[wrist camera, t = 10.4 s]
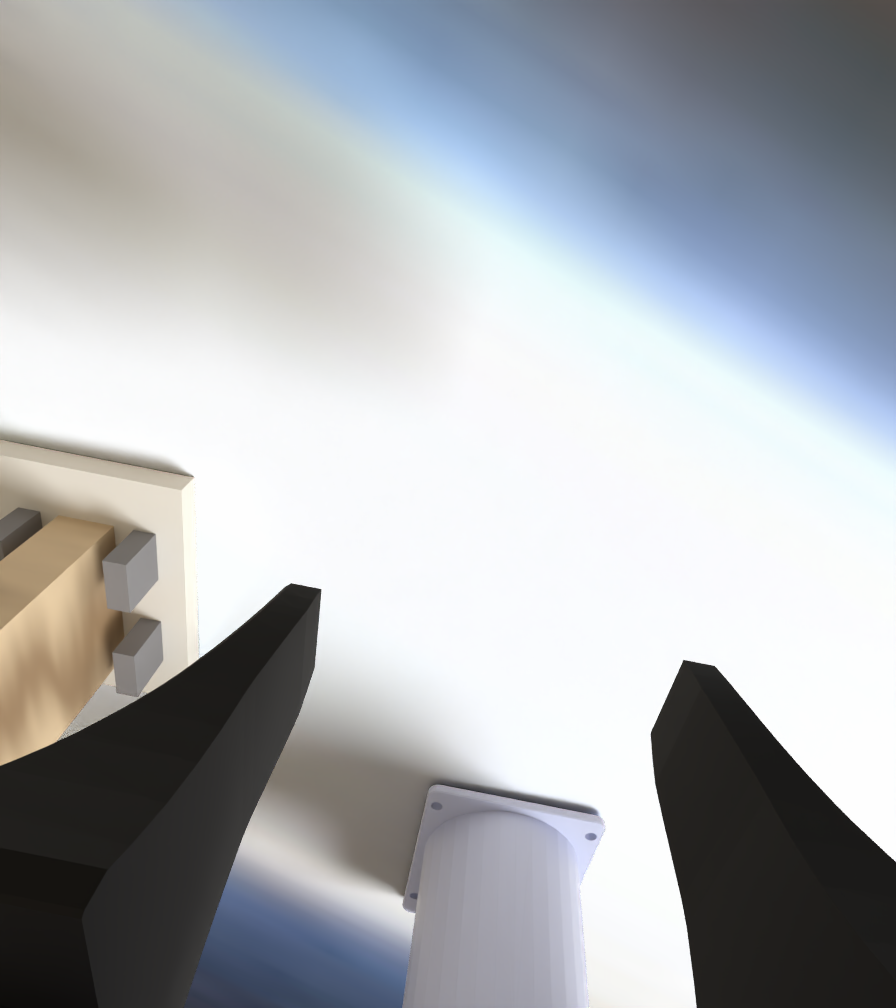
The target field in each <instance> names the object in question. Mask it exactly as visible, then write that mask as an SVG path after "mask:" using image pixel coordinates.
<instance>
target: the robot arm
mask: <svg viewBox="0 0 896 1008" xmlns="http://www.w3.org/2000/svg"><path fill="white" fill-rule="evenodd" d="M320 600H321V589H317V588H312V587H307V586H302V585H297V584H292V583H291V584H289V585H288V586H286V587H285V588H284V589H282V590H281V591H280V592H279V593H278V594H277V595H276V596H275V597H274V598H273V599H272V600H270V601H269V602H268V603H267V604H266V605H265V606H264V607H263V608H262V609H260V610H259V611H258V612H257V613H256V614H255V615H254V616H252V617H251V618H250V619H249V620H248V621H247V622H245V623H244V624H243V625H242V626H241V627H239V628H238V629H237V630H236V631H234V632H233V633H232V634H231V635H229V636H228V637H227V638H226V639H225V640H223V641H222V642H221V643H220V644H218V645H217V646H216V647H214V648H213V649H212V650H210V651H209V652H208V653H206V654H205V655H204V656H202V657H201V658H199V659H198V660H197V661H195V662H194V663H193V664H191V665H190V666H188V667H187V668H186V669H184V670H183V671H182V672H180V673H179V674H177V675H176V676H174V677H173V678H171V679H170V680H168V681H167V682H165V683H164V684H162V685H161V686H159V687H157V688H156V689H154V690H153V691H151V692H149V693H148V694H146V695H144V696H143V697H141V698H139V699H138V700H136V701H135V702H133V703H131V704H129V705H128V706H126V707H124V708H122V709H120V710H118V711H117V712H115V713H113V714H111V715H109V716H108V717H106V718H104V719H102V720H100V721H98V722H96V723H94V724H92V725H90V726H88V727H86V728H85V729H83V730H81V731H79V732H77V733H75V734H73V735H70V736H68V737H66V738H64V739H62V740H60V741H57V742H55V743H53V744H51V745H49V746H46V747H44V748H42V749H39V750H37V751H35V752H32V753H30V754H28V755H25V756H23V757H21V758H18V759H16V760H13V761H11V762H8V763H6V764H3V765H1V766H0V1008H184V1005H185V1002H186V999H187V996H188V993H189V990H190V987H191V984H192V981H193V978H194V975H195V972H196V969H197V966H198V963H199V960H200V957H201V954H202V951H203V948H204V945H205V942H206V939H207V936H208V933H209V931H210V928H211V925H212V922H213V919H214V916H215V913H216V910H217V907H218V905H219V902H220V899H221V896H222V893H223V890H224V887H225V885H226V882H227V879H228V876H229V873H230V871H231V868H232V865H233V862H234V860H235V857H236V854H237V851H238V848H239V846H240V843H241V840H242V837H243V835H244V833H245V830H246V828H247V826H248V823H249V821H250V818H251V816H252V814H253V812H254V809H255V807H256V805H257V803H258V801H259V799H260V797H261V795H262V792H263V790H264V788H265V786H266V784H267V782H268V780H269V778H270V775H271V773H272V771H273V769H274V767H275V765H276V763H277V760H278V758H279V756H280V754H281V752H282V750H283V748H284V746H285V743H286V741H287V739H288V737H289V735H290V733H291V730H292V728H293V726H294V724H295V722H296V720H297V717H298V715H299V713H300V710H301V707H302V704H303V701H304V698H305V695H306V692H307V689H308V686H309V683H310V680H311V677H312V674H313V671H314V667H315V656H316V645H317V634H318V622H319V611H320ZM651 743H652V756H653V767H654V776H655V784H656V789H657V794H658V798H659V803H660V807H661V812H662V816H663V821H664V825H665V830H666V834H667V838H668V843H669V847H670V851H671V856H672V860H673V864H674V869H675V873H676V877H677V882H678V886H679V890H680V895H681V899H682V904H683V909H684V914H685V920H686V925H687V932H688V939H689V947H690V955H691V962H692V970H693V978H694V986H695V995H696V1005H697V1008H896V862H895V861H894V860H893V859H892V858H891V857H890V856H889V855H887V854H886V853H885V852H884V851H883V850H882V849H881V848H880V847H879V846H878V845H877V844H876V843H875V842H874V841H872V840H871V839H870V838H869V837H868V836H867V835H866V834H865V833H864V832H863V831H862V830H861V829H860V828H859V827H858V826H857V825H856V824H854V823H853V822H852V821H851V820H850V819H849V818H848V817H847V816H846V815H845V814H844V813H843V812H842V811H841V810H840V809H839V808H838V807H837V806H836V805H835V804H834V802H833V801H832V800H831V799H830V798H829V797H828V796H827V795H826V794H825V793H824V792H823V791H822V790H821V789H820V788H819V787H818V786H817V784H816V783H815V782H814V781H813V780H812V779H811V778H810V777H809V776H808V775H807V774H806V773H805V772H804V770H803V769H802V768H801V767H800V766H799V765H798V764H797V763H796V761H795V760H794V759H793V758H792V757H791V756H790V755H789V754H788V752H787V751H786V750H785V749H784V748H783V747H782V745H781V744H780V743H779V742H778V741H777V740H776V738H775V737H774V736H773V735H772V734H771V733H770V731H769V730H768V729H767V728H766V727H765V725H764V724H763V723H762V722H761V721H760V719H759V718H758V717H757V716H756V715H755V713H754V712H753V711H752V710H751V708H750V707H749V706H748V705H747V704H746V702H745V701H744V700H743V699H742V698H741V696H740V695H739V694H738V693H737V692H736V690H735V689H734V688H733V687H732V685H731V684H730V683H729V682H728V681H727V680H726V678H725V677H724V676H723V675H722V674H721V673H720V672H719V670H718V669H717V668H716V667H715V666H711V665H706V664H701V663H696V662H691V661H686V660H683V663H682V665H681V667H680V669H679V672H678V674H677V676H676V678H675V680H674V683H673V685H672V687H671V689H670V692H669V694H668V696H667V698H666V700H665V703H664V705H663V707H662V709H661V712H660V714H659V716H658V718H657V720H656V723H655V725H654V727H653V729H652V732H651ZM604 832H605V823H604V820H603V819H602V818H601V817H599V816H596V815H592V814H587V813H582V812H577V811H571V810H566V809H561V808H556V807H551V806H546V805H541V804H536V803H531V802H526V801H521V800H516V799H511V798H506V797H501V796H495V795H490V794H485V793H480V792H475V791H470V790H465V789H460V788H455V787H450V786H445V785H433V786H431V787H430V788H429V790H428V794H427V798H426V803H425V807H424V811H423V816H422V820H421V824H420V829H419V833H418V838H417V842H416V846H415V851H414V855H413V859H412V864H411V868H410V873H409V877H408V881H407V886H406V890H405V894H404V899H403V908H404V909H405V910H406V911H408V912H411V913H416V914H415V921H414V928H413V935H412V943H411V950H410V957H409V964H408V971H407V979H406V986H405V993H404V1000H403V1007H402V1008H589V996H588V983H587V971H586V958H585V945H584V933H583V920H582V908H581V895H580V885H581V883H582V881H583V878H584V876H585V874H586V872H587V870H588V867H589V865H590V863H591V861H592V858H593V856H594V854H595V852H596V849H597V847H598V845H599V843H600V841H601V838H602V836H603V834H604Z"/></svg>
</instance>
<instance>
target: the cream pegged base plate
mask: <svg viewBox="0 0 896 1008" xmlns="http://www.w3.org/2000/svg"><path fill="white" fill-rule="evenodd" d="M58 515H60V516H65V517H70V518H75V519H80V520H85V521H91V522H96V523H101V524H106V525H111V526H114V533H115V544H116V548H115V549H114V550H112V551H111V552H110V553H109V554H108V555H107V556H106V557H105V558H104V559H103V560H102V565H103V574H104V583H105V592H106V601H107V609H112V610H118V611H122V616H123V626H124V639H123V640H122V641H121V642H120V644H119V645H118V646H117V647H116V648H115V650H114V651H113V652H112V655H113V664H114V669H113V670H112V672H111V673H110V674H109V675H108V677H107V678H106V679H105V681H104V682H103V683H102V684H105V685H110V686H115V687H116V691H117V693H120V694H125V695H130V696H135V697H138V696H139V694H140V693H141V692H145V693H149V692H151V691H153V690H154V689H156V688H157V687H159V686H161V685H162V684H164V683H165V682H167V681H168V680H170V679H171V678H173V677H174V676H176V675H177V674H179V673H180V672H182V671H183V670H184V669H186V668H187V667H188V666H190V665H191V664H193V663H194V662H195V661H197V660H198V659H199V634H198V596H197V557H196V519H195V480H194V477H189V476H184V475H179V474H174V473H169V472H163V471H158V470H153V469H148V468H143V467H138V466H132V465H127V464H122V463H117V462H112V461H107V460H102V459H96V458H91V457H86V456H81V455H76V454H71V453H66V452H60V451H55V450H50V449H45V448H40V447H35V446H30V445H24V444H19V443H14V442H9V441H4V440H0V561H1V560H2V559H4V558H5V557H6V556H7V555H9V554H10V553H11V552H13V551H14V550H15V549H16V548H18V547H19V546H20V545H21V544H23V543H24V542H25V541H27V540H28V539H29V538H30V537H32V536H33V535H34V534H36V533H37V532H38V531H39V530H41V529H42V528H43V527H44V526H46V525H47V524H48V523H50V522H51V521H52V520H53V519H55V518H56V517H57V516H58Z"/></svg>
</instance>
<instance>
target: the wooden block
mask: <svg viewBox="0 0 896 1008" xmlns="http://www.w3.org/2000/svg"><path fill="white" fill-rule="evenodd" d="M115 548H116V544H115V533H114V526H111V525H106V524H101V523H96V522H91V521H85V520H80V519H75V518H70V517H65V516H60V515H58V516H57V517H56V518H55V519H53V520H52V521H51V522H50V523H48V524H47V525H46V526H44V527H43V528H42V529H41V530H39V531H38V532H37V533H36V534H34V535H33V536H32V537H30V538H29V539H28V540H27V541H25V542H24V543H23V544H21V545H20V546H19V547H18V548H16V549H15V550H14V551H13V552H11V553H10V554H9V555H7V556H6V557H5V558H4V559H2V560H1V561H0V766H1V765H3V764H6V763H8V762H11V761H13V760H16V759H18V758H21V757H23V756H25V755H28V754H30V753H32V752H35V751H37V750H39V749H42V748H44V747H46V746H49V745H51V744H53V743H55V742H56V741H57V740H58V739H59V738H60V736H61V735H62V734H63V732H64V731H65V730H66V729H67V727H68V726H69V725H70V724H71V722H72V721H73V720H74V719H75V717H76V716H77V715H78V713H79V712H80V711H81V710H82V708H83V707H84V706H85V705H86V703H87V702H88V701H89V700H90V698H91V697H92V696H93V694H94V693H95V692H96V691H97V689H98V688H99V687H100V686H101V684H102V683H103V682H104V681H105V679H106V678H107V677H108V675H109V674H110V673H111V672H112V670H113V669H114V664H113V655H112V652H113V651H114V650H115V648H116V647H117V646H118V645H119V644H120V642H121V641H122V640H123V639H124V626H123V616H122V611H118V610H112V609H107V601H106V592H105V583H104V574H103V565H102V560H103V559H104V558H105V557H106V556H107V555H108V554H109V553H110V552H111V551H112V550H114V549H115Z"/></svg>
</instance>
